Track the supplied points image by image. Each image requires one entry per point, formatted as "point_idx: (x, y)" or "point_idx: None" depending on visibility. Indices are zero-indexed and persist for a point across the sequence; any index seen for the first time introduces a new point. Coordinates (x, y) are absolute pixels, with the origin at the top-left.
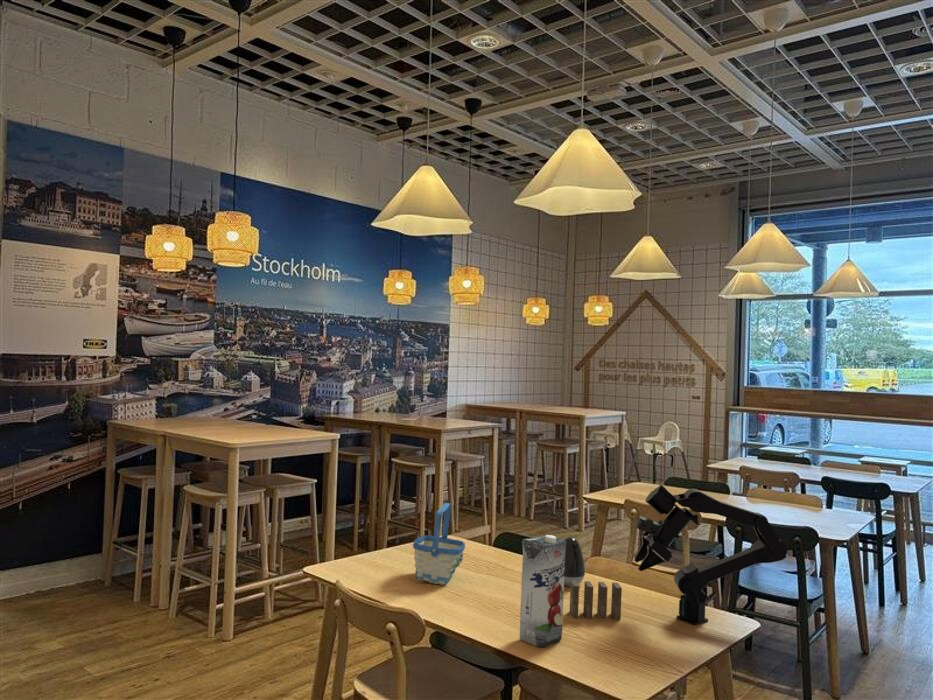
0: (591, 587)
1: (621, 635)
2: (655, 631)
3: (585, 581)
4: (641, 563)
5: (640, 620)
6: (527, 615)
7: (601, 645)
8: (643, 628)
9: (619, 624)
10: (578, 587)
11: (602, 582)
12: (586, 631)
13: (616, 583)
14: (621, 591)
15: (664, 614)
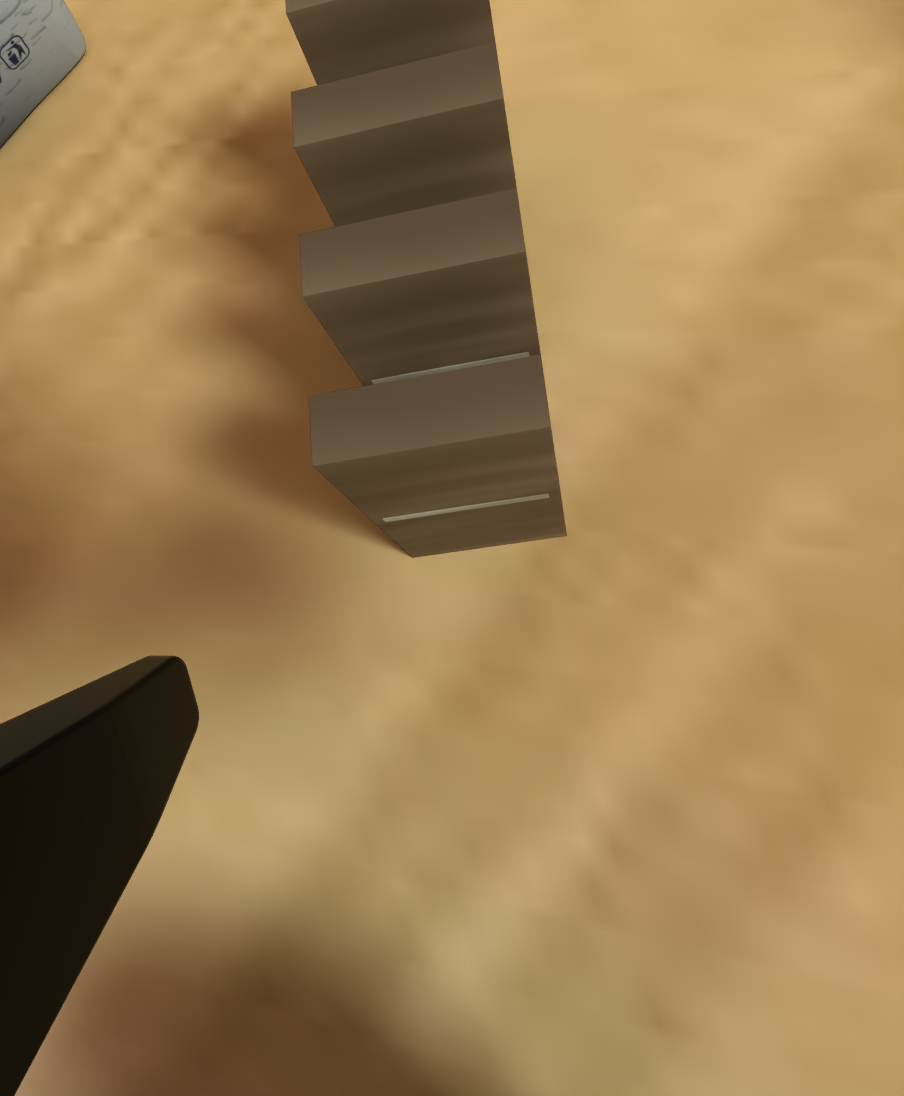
0: (297, 136)
1: (86, 535)
2: (192, 827)
3: (484, 51)
4: (30, 718)
5: (438, 738)
6: None
7: None
8: (246, 731)
9: (306, 539)
10: (290, 20)
11: (497, 236)
12: (136, 303)
13: (498, 408)
14: (331, 479)
15: (685, 1047)
